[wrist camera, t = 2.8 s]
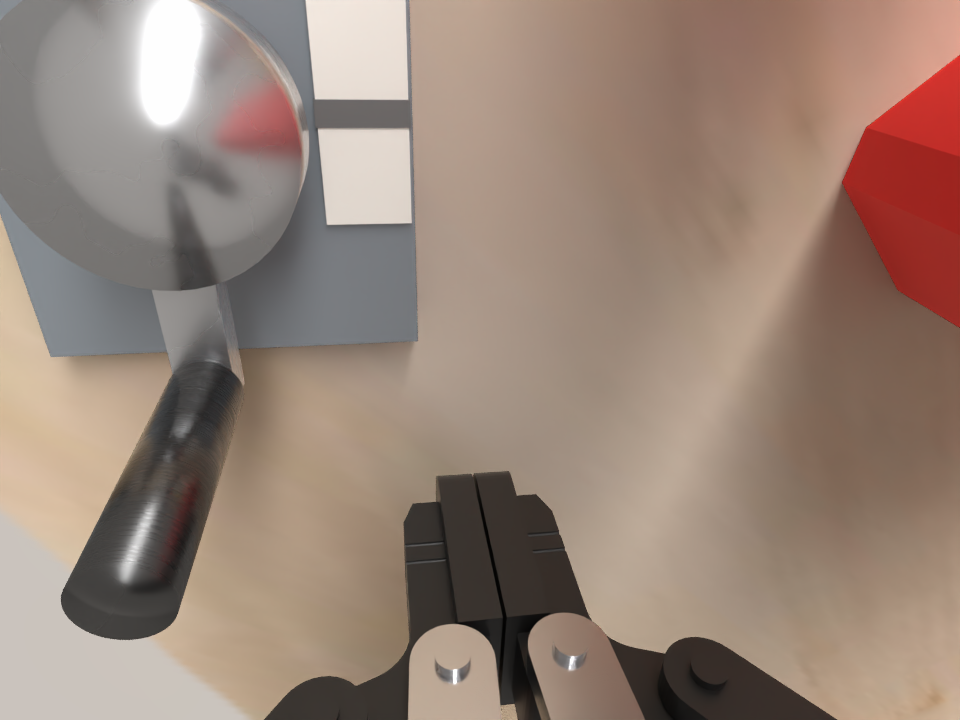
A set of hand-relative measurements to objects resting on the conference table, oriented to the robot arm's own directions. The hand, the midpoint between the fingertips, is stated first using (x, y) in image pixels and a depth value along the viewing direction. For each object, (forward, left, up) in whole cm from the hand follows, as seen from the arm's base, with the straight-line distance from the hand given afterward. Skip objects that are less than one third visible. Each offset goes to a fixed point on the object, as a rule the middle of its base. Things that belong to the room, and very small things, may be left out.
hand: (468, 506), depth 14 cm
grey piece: (+6, -6, -6) cm, 10 cm away
